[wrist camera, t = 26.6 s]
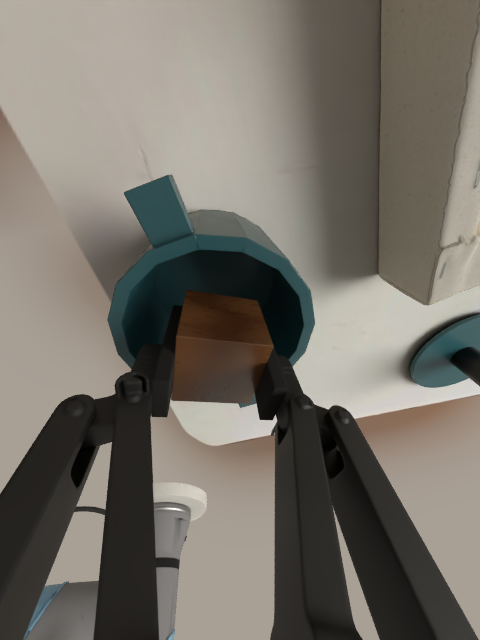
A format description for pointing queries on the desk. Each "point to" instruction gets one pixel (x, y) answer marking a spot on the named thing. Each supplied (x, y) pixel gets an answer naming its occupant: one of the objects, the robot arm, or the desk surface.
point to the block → (219, 349)
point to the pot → (204, 273)
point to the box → (430, 147)
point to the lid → (450, 356)
